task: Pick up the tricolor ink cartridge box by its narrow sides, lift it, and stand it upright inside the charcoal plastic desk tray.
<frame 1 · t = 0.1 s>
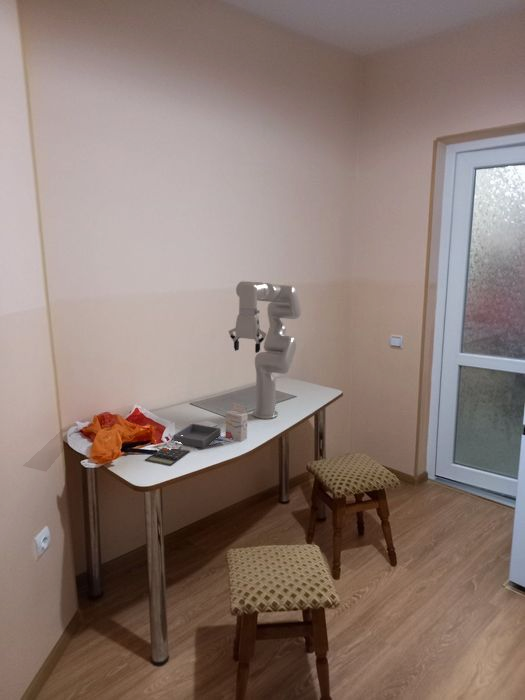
hand: (246, 351, 221), 37 cm above the table, tool pointing down, fingers open, 9 cm apart
desk tray: (197, 439, 217), on the table
calculator: (168, 457, 199), on the table
ink cartridge box: (236, 438, 220), on the table
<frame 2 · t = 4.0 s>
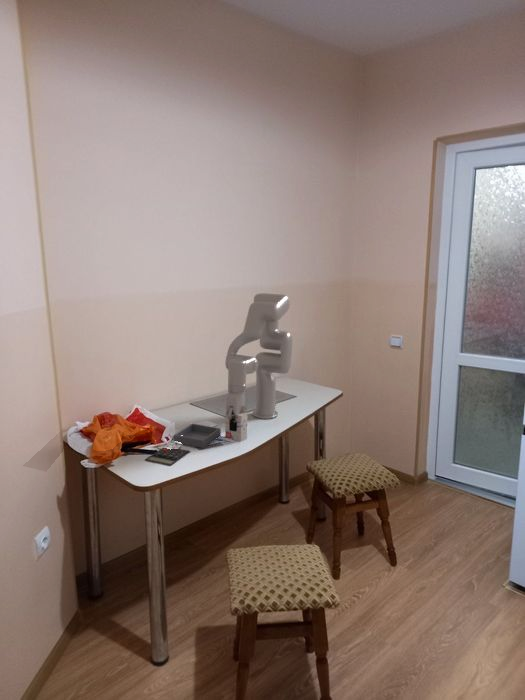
hand: (236, 428, 219), 5 cm above the table, tool pointing down, fingers closed on ink cartridge box, 5 cm apart
ink cartridge box: (236, 438, 220), on the table, touching gripper
everything else where it was.
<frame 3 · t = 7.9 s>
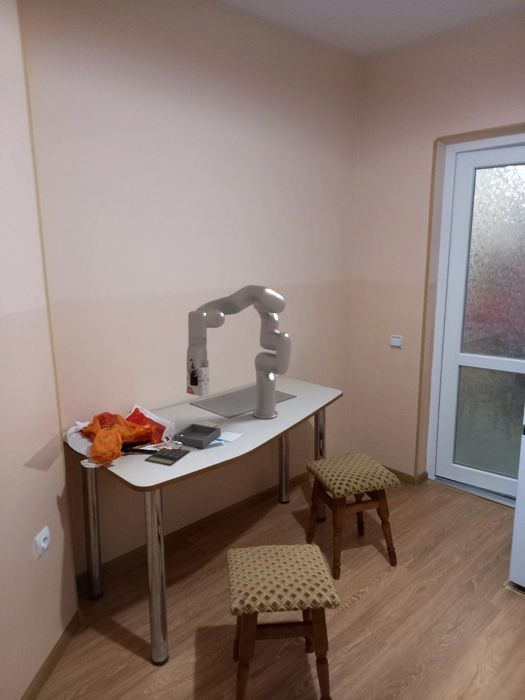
hand: (197, 383, 212), 25 cm above the table, tool pointing down, fingers closed on ink cartridge box, 5 cm apart
ink cartridge box: (197, 394, 213), point 20 cm above the table, touching gripper
everything else where it was.
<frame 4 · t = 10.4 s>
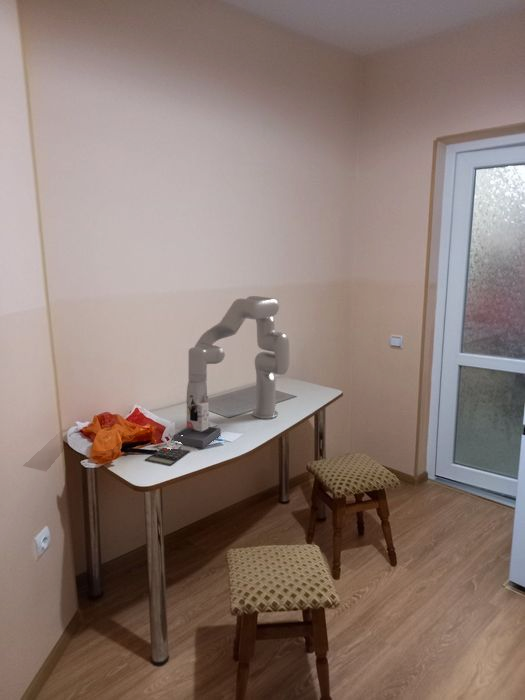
hand: (197, 418, 215), 10 cm above the table, tool pointing down, fingers closed on ink cartridge box, 5 cm apart
ink cartridge box: (197, 428, 216), point 5 cm above the table, touching gripper
everything else where it was.
when the fingers open (6 cm above the table, at t = 12.2 s): ink cartridge box stays where it is, resting on desk tray.
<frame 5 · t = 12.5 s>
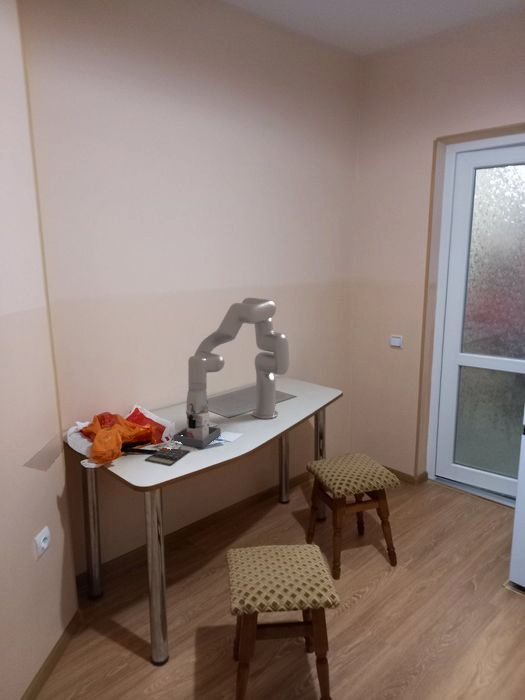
hand: (197, 424, 215), 7 cm above the table, tool pointing down, fingers open, 8 cm apart
ink cartridge box: (197, 438, 217), resting on desk tray
everything else where it was.
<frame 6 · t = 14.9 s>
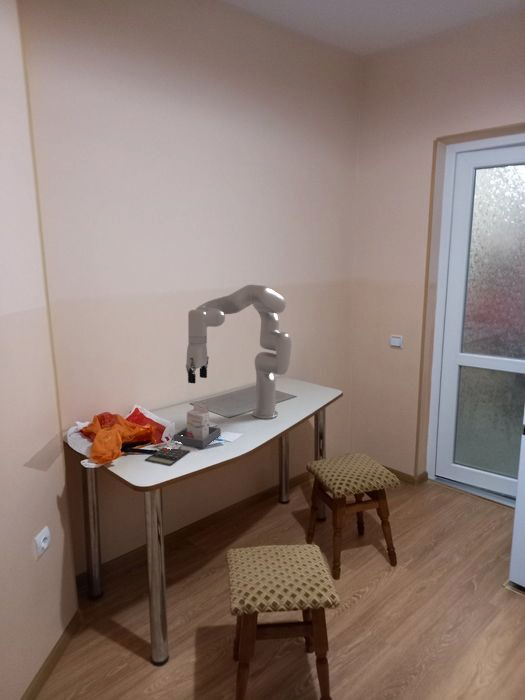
hand: (197, 380, 211), 26 cm above the table, tool pointing down, fingers open, 9 cm apart
nothing on the table moved.
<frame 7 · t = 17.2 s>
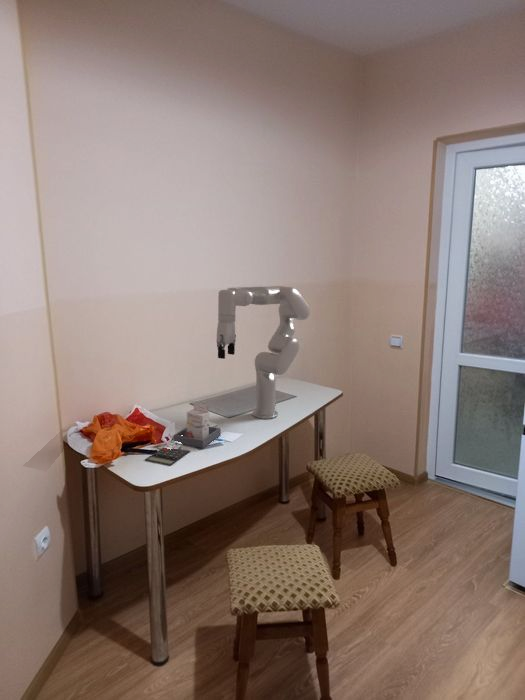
hand: (226, 356, 226), 33 cm above the table, tool pointing down, fingers open, 9 cm apart
nothing on the table moved.
at the end: ink cartridge box inside the target area on the desk tray (0.1 cm from its centre), point 0.4 cm above the desk tray's base; ink cartridge box tilted 0°; the gripper is holding nothing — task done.
